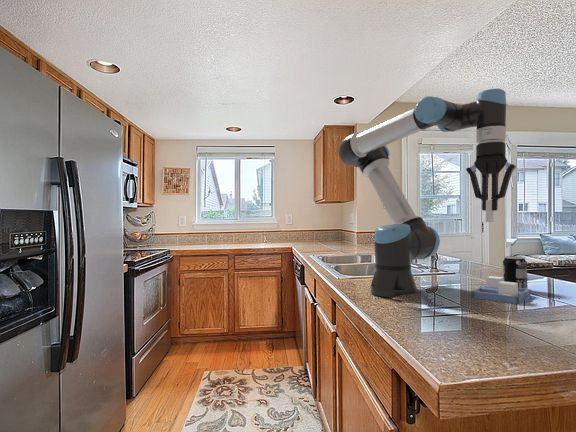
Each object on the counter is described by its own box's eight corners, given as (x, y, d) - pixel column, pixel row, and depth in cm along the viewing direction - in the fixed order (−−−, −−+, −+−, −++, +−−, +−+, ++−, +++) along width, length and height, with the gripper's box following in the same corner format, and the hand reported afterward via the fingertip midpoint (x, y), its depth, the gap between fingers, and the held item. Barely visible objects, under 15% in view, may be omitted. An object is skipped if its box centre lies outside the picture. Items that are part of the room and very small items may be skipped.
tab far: (486, 293, 107) (486, 277, 107) (490, 291, 109) (489, 276, 109) (501, 295, 104) (500, 278, 104) (504, 293, 106) (504, 277, 106)
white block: (498, 300, 98) (498, 282, 98) (502, 298, 100) (501, 281, 100) (514, 302, 95) (514, 284, 95) (518, 300, 97) (517, 282, 97)
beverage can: (504, 290, 116) (503, 255, 116) (527, 292, 112) (526, 256, 112) (503, 294, 110) (502, 257, 110) (527, 296, 106) (526, 258, 107)
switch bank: (471, 301, 101) (471, 290, 101) (486, 294, 111) (486, 283, 111) (519, 309, 93) (518, 296, 93) (530, 299, 102) (530, 288, 102)
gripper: (463, 144, 103) (462, 221, 103) (514, 138, 94) (512, 222, 94) (470, 147, 108) (469, 220, 109) (518, 142, 99) (517, 221, 100)
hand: (489, 221), depth 101 cm, fingers closed
